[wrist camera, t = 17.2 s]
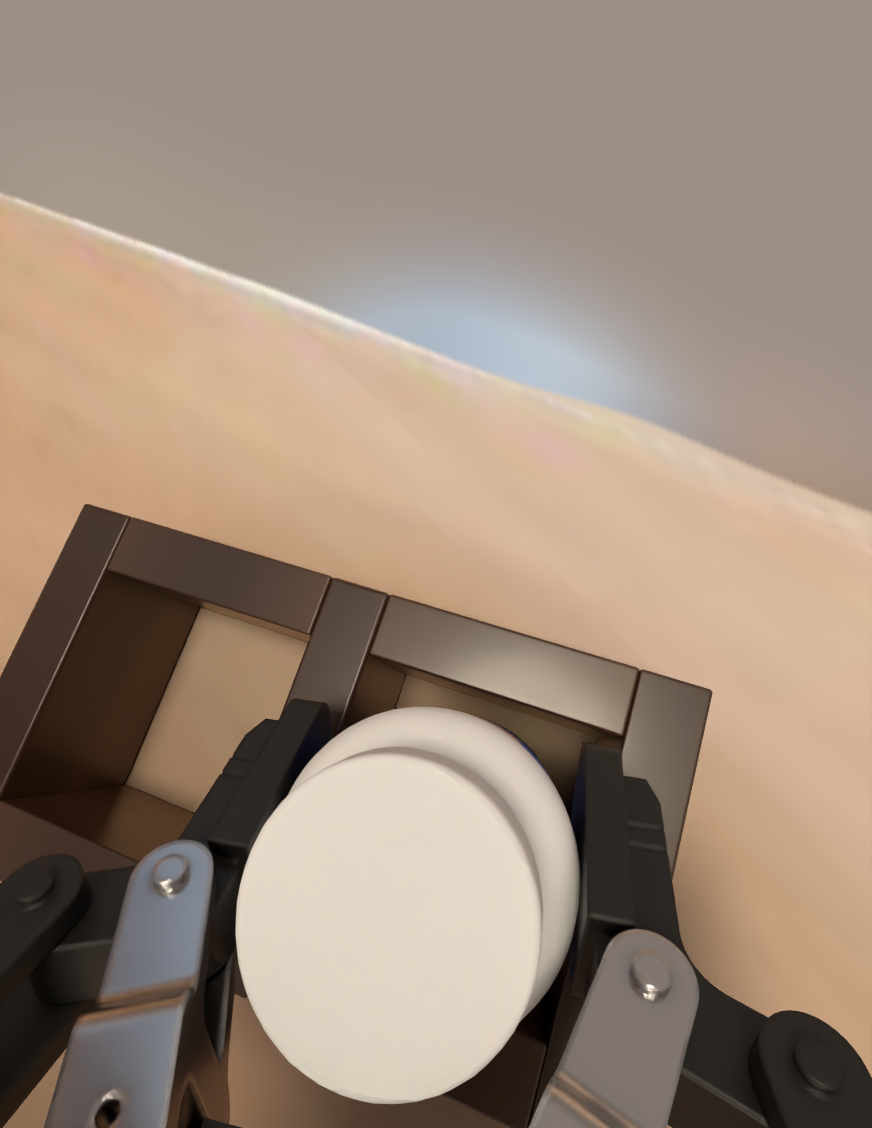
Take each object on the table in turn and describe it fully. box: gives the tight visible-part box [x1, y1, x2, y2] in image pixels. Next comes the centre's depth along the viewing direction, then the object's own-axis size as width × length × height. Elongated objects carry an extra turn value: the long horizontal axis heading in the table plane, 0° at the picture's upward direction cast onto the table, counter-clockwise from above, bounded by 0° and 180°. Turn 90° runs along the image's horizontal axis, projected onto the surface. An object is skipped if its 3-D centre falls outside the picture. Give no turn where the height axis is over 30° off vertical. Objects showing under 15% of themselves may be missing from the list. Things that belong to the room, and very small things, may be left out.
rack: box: [0, 504, 712, 1128], centre depth 16 cm, size 17×9×5 cm, turn 72°
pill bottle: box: [235, 707, 581, 1104], centre depth 12 cm, size 5×5×10 cm
